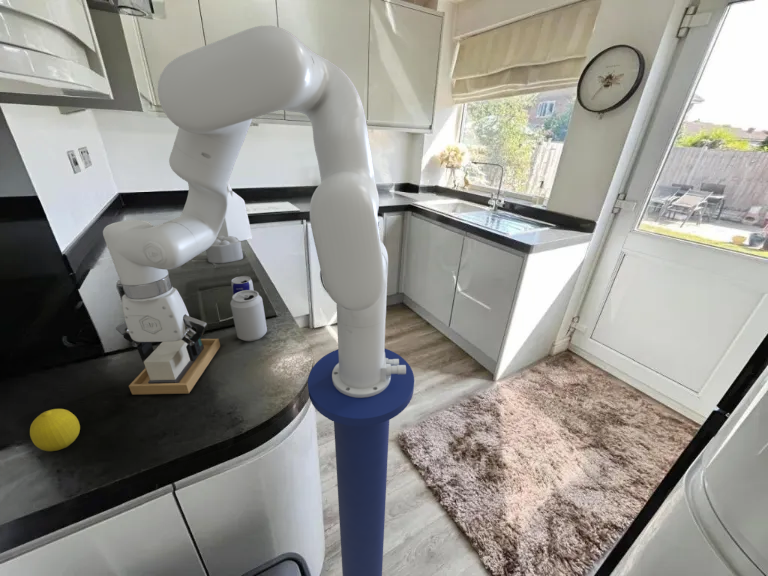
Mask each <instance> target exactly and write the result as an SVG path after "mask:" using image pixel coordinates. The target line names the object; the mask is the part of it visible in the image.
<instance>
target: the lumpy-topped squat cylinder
mask: <svg viewBox="0 0 768 576" xmlns="http://www.w3.org/2000/svg"><path fill="white" fill-rule="evenodd" d="M205 254H206V258H207V261H208V262H209V263H211V264H225V263H231V262H237V261H240V260H243V259H244V254H243V247H242V242H241V241H239V240H238V238H236V237H233V236H228V237H224V236H218V235H217V238H216V239H215V241H214V243H213V244H212V245H211V246H210V247H209V248H208V249H207V250H205Z"/></svg>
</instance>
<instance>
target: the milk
mask: <svg viewBox="0 0 768 576" xmlns="http://www.w3.org/2000/svg"><path fill="white" fill-rule="evenodd" d="M227 192H228V206H227V212H226V216H225V218H224V221H223V224H222V226H221V228H220V231H219V233H218V235H217V237H218V236H224V237H228V236H233V237H236V238H238V240H239V241H240V242H241V241H247V240H252V239H253V234H252V229H251V225H250V219H249V216H248V211H247V206H246V202H245V201H246V200H244V198H242V197H241V196H240V195H239V194H237V193H236V192H235V191H233V189H232V186H231V183H227Z"/></svg>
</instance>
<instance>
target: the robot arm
mask: <svg viewBox="0 0 768 576" xmlns="http://www.w3.org/2000/svg"><path fill="white" fill-rule="evenodd" d="M157 96H158V97H157V98H158V100H159V105H160V107H161V109H162V111H163V112H164V114H165V115H166V117H167V118H168V119H169V121H170V122H171V123H172V124H173V125H175V126H176V127H178V130H177V133H176V136H175V139H174V143H173V146H172V149H171V152H170V155H169V158H168V163H169V167H170V168H171V171H172V172H174V174H176V176H178V177H179V178H180V179H182V180H183V181H185V182H186V183H187V185H188V192H187V197H186V201H185V204H184V205H183V206H184V207H183V209H182V212H181V213H180V216H178V217H175V218H172V219H170V220H168V221H165V222H163V223H160V224H157V225H153V224H152V223H151V222H149V221H147V220H142V219H130V220H121V221H116V222H113V223H110V224H108V225H106V226H105V227H104V228H103V230H102V235H103V238H104V239H103V240H104V241H105V244H106V247H107V249H108V252H109V255H110V258H111V260H112V263H113V265H114V268H115V271H116V273H117V276H118V279H119V280H118V281H117V282H116V286H117V288H121V289H123V292H124V294H122V296H121V305H122V312H123V318H124V320H125V321H123V322H121V323H119V324H118V325H117V326H115V330H116V331H117V332H118V333H119V334H120V335H122V336H123V339H125V340H126V341H128V342H130V343H131V346H133V347H134V348H136V349H137V352H138V354H139V357H140V359H141V362H142V363H144V361H145V360H146V359H147V358H148V357H149V356H150V355H151V353H152V352H153V351H154V350H155V349H154V347H153V344H152V343H162V342H170V341H179V340H183V341H184V342H186V343H187V344H188V345H187V346H186V348H187V352H188V355H189V358H190V361H195V360H196V358H197V357H198V356H199V355H200V353H201V349H200V345H199V342H198V339H199V338H201V337H202V336H203V335H204V334H205V331H206V329H207V328H206V327H207V326H208V323H207V322H205V321H203V320H200V319H197V318H195V317H191V316H190V314H189V312H188V309H187V306H186V304H185V302H184V299H183V298H182V296H181V294H180V292H179V291H178V289H177V288H176V287H173V284H172V280H171V276H170V274H169V271H168V270H176V269H177V268H179V267H182V266H183V265H185V264H186V263H188V262H190V261H191V260H193V259H194V258H196V257H197V256H199V255H200V254H203V253H204V252H206V250H207V249H208V248H209V247H210V246H211V245H212V244H213V243H214V241H215V239H216V238H217V237H218V233H219V231H220V228H221V226H222V224H223V221H224V218H225V216H226V212H227V206H228V192H227V184H229V180H230V177H231V175H232V172H233V170H234V167H235V164H236V161H237V158H238V156H239V154H240V151H241V149H242V147H243V144H244V141H245V140H246V138H247V134H248V132H249V129H250V126H251V124H252V121H253V119H255V118H259V117H261V116H265V115H269V114H271V113H274V112H279V111H286V112H293V113H300V114H303V115H305V116H307V118H308V119H309V121H310V124H311V128H312V138H313V145H314V146H313V147H314V152H315V155H316V160H317V166H318V170H319V176H320V183H319V184H318V186H317V187H316V188H315V190H314V192H313V193H312V196H311V198H310V204H309V223H310V228H311V232H312V238H313V242H314V246H315V252H316V256H317V261H318V264H319V269H320V273H321V278H322V282H323V285H324V287H325V290H326V292H327V294H328V296H329V297H330V299H331V300H332V301H333V302H334V303H335V304H336V326H337V327H336V329H337V349H338V353H339V363H338V364H337V365H336V366H335V367H334V369H333V372H332V381H333V384H334V386H335V387H336V389H337V390H338V391H340V392H341V393H343V394H345V395H347V396H351V397H357V398H364V397H370V396H374V395H376V394H379V393H380V392H382V391H383V390H384V389H386V388H387V386H388V385H389V383H390V380H391V374H406V365H399V359H388V358H385V352H384V349H386V348H385V347H386V345H385V344H386V320H387V319H386V317H387V294H388V273H389V255H388V250H387V248H386V246H385V244H384V242H383V241H382V240H381V235H380V233H381V232H380V227H379V226H380V225H379V217H378V213H379V207H380V195H379V192H378V191H379V190H378V187H377V182H376V176H375V171H374V163H373V156H372V149H371V145H370V144H371V143H370V137H369V129H368V123H367V118H366V113H365V108H364V105H363V102H362V98H361V96H360V94H359V91H358V90H357V87H356V86H355V84H354V83H353V80H351V78H350V77H349V76H348V75H347V73H346V72H344V70H343V69H341V68H340V67H339V66H338V65H336V64H335V63H334V62H331V61H330V60H329V59H327V58H325V57H323V56H321V55H320V54H318V53H316V52H314V51H313V50H311V49H310V47H309V46H307V45H306V44H304V42H303V41H301V40H300V39H299V38H298V37H297V36H295V35H294V34H292V32H290V31H288V30H286V29H284V28H282V27H280V26H275V25H257V26H254V27H250V28H247V29H244V30H241V31H239V32H237V33H234V34H231V35H229V36H227V37H223V38H221V39H218V40H217V41H214V42H211V43H208V44H206V45H203V46H201V47H198V48H195V49H193V50H190V51H189V52H186V53H183V54H182V55H179V56H178V57H176V58H174V59H173V60H171V61H170V62H168V64H167V65H166V66H165V67H164V68H163V70H162V72H161V74H160V76H159V78H158V82H157ZM192 328H195V329H196V331H195V330H194V329H192ZM190 337H192V338H190ZM391 365H397V366H391Z"/></svg>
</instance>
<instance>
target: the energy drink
mask: <svg viewBox="0 0 768 576" xmlns="http://www.w3.org/2000/svg"><path fill="white" fill-rule="evenodd" d="M230 285H231V286H230V287H231V291H232V296H233V295H234V294H235V293H237V292H240V291H244V290H254V289H255V288H254V284H253V280H252V279H251V276H247V275H241V276H236V277H234V278H232V279H231V284H230ZM254 291H255V290H254Z"/></svg>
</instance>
